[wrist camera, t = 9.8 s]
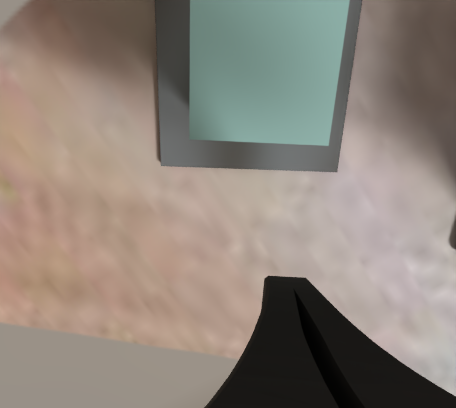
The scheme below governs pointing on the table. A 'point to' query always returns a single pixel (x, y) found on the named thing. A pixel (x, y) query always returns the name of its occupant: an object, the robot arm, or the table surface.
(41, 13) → the table surface
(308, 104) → the mint green cube
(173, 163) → the peg stand
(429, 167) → the table surface
